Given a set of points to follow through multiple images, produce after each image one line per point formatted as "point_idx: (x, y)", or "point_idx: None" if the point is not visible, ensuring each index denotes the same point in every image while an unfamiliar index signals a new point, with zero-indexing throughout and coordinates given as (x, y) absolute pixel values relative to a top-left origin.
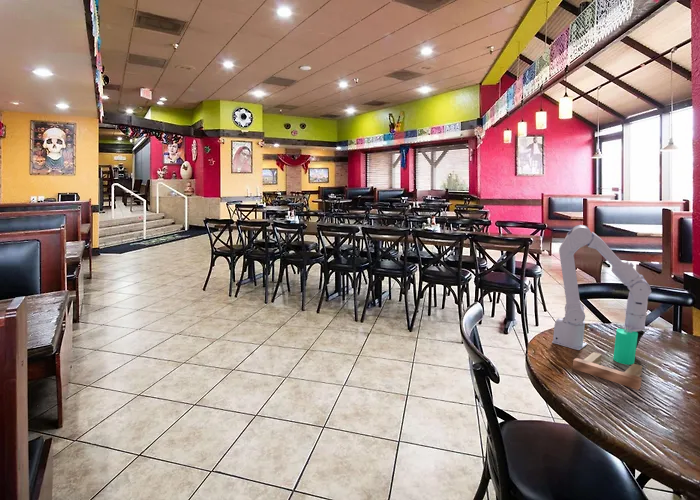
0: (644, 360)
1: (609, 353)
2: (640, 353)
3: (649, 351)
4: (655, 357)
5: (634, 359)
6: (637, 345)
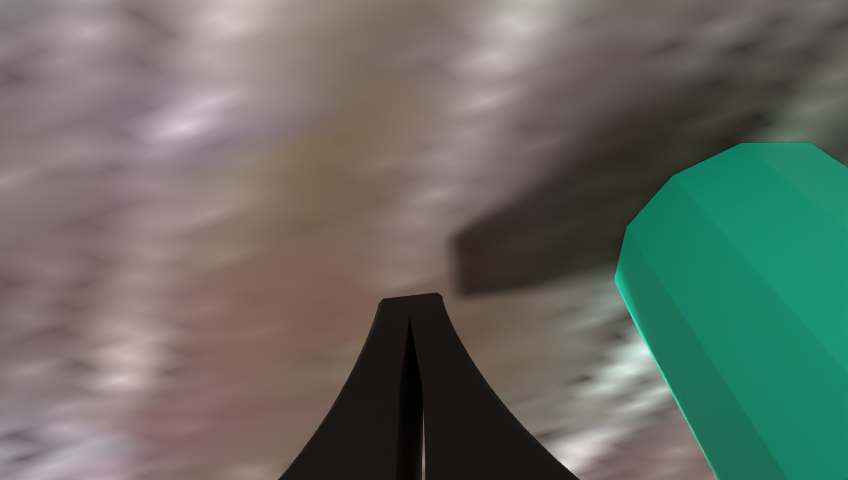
0: (503, 102)
1: (602, 407)
2: (267, 237)
3: (51, 199)
4: (208, 47)
5: (788, 172)
6: (381, 349)
